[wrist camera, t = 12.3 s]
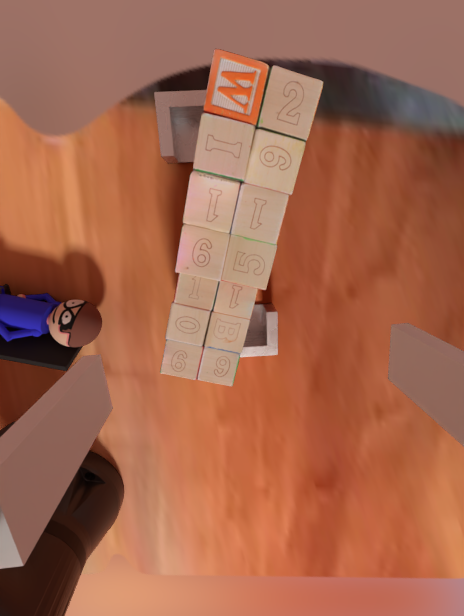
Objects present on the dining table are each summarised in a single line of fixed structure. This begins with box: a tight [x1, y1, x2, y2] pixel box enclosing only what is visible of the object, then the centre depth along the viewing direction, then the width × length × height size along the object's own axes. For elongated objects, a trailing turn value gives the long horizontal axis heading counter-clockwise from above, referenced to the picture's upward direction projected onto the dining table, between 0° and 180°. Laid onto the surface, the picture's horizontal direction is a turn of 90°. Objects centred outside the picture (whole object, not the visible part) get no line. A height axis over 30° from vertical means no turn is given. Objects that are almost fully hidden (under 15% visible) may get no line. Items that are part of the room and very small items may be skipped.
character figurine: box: [0, 284, 102, 371], centre depth 32 cm, size 8×7×15 cm
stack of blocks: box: [160, 49, 323, 386], centre depth 24 cm, size 21×6×12 cm, turn 166°
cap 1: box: [154, 90, 207, 163], centre depth 29 cm, size 11×5×4 cm, turn 93°
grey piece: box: [240, 303, 278, 357], centre depth 35 cm, size 11×5×4 cm, turn 93°
